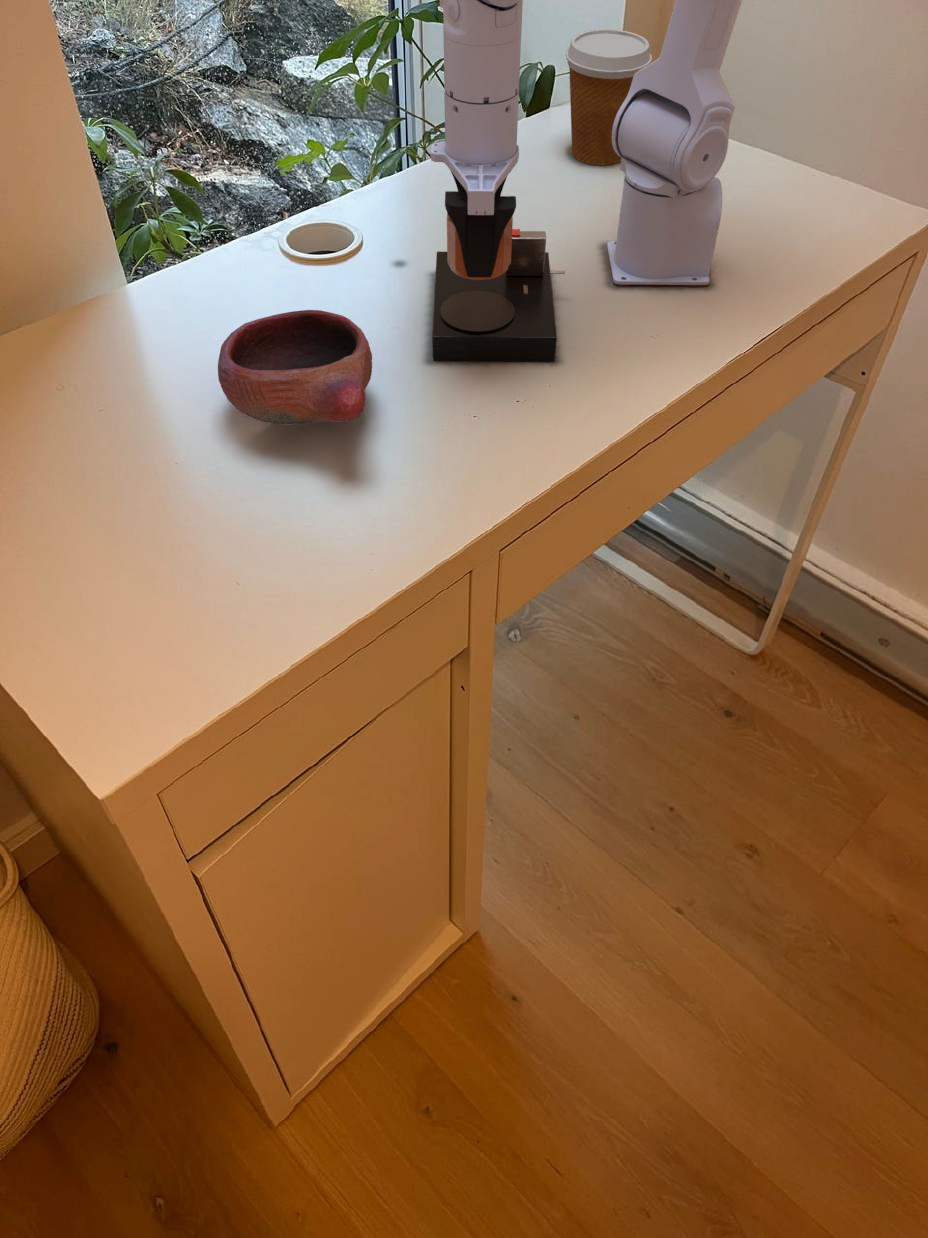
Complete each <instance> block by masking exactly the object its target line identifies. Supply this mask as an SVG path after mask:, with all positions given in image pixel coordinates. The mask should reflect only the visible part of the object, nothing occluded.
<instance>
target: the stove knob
mask: <svg viewBox="0 0 928 1238" xmlns="http://www.w3.org/2000/svg"><path fill="white" fill-rule="evenodd" d="M546 246H547V234H546V231H545V230H525V231H524V230H521V229H520V228H512V251H511V264H510V265H509V267H508V269H507V271H506V276H543V275H544V263H545V252H546Z"/></svg>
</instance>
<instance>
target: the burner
mask: <svg viewBox="0 0 928 1238" xmlns="http://www.w3.org/2000/svg"><path fill="white" fill-rule="evenodd" d="M440 315H441V318H442V319H443V321H444V322H445V323H446V324H447V325H449V326H450V327H452V328H454V329H457V330H460V331H463V332H469V333H487V332H493V331H496V330H499V329H502V328H504V327H505V326H507V325H508V324H509V323H511V321H512V320H513V318H514V316H515V308H514V306H513V304H512V303H511V302H510V301H509V300H508V299H507V298H505V297H503V296H501V295H499V294H496V293H492V292H487V291H467V292H462V293H458V294H455V295H453V296H451V297H449V298H448V299H446V300H445V301H444V302H443V304H442V305H441V308H440Z"/></svg>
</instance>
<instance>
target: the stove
mask: <svg viewBox="0 0 928 1238" xmlns="http://www.w3.org/2000/svg"><path fill="white" fill-rule="evenodd" d="M435 259H436V260H435V279H434V295H433V296H434V298H433V316H432V332H431V333H432V335H431V338H432V360H433V361H435V362H436V361H438V362H439V361H440V362H442V361H443V362H444V361H446V362H545V363H547V362H553V363H554V362H555V361H556V352H557V351H556V350H557V342H558V341H557V338H558V336H557V326H556V316H555V307H554V297H553V296H554V295H553V286H552V276H551V275H566V270H551V265H550V264H551V263H550V256H549V252H547V251H545V263H544V275H543V276H506V272H505V273H504V274H502V275H501V276H499V277H496V278H493V279H488V280H471V279H466V278H463V277H460V276H458V275H456V274H455V273H454V272H453V271H452V270H451V269H450V266H449V264H448V263H447V251H436V258H435ZM467 291H487V292H492V293H496V294H499V295H501V296H503V297H505V298H507V299H508V300H509V301H510V302H511V303H512V304H513V306H514V308H515V316H514V318H513V320H512V321H511V323H509V324H508V325H507V326H505V327H504V328H502V329H499V330H496V331H493V332H487V333H469V332H463V331H460V330H457V329H454V328H452V327H450V326H449V325H447V324H446V323H445V322H444V321H443V319H442V318H441V315H440V308H441V305H442V304H443V302H444V301H445V300H446V299H448V298H449V297H451V296H453V295H455V294H458V293H462V292H467Z"/></svg>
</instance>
